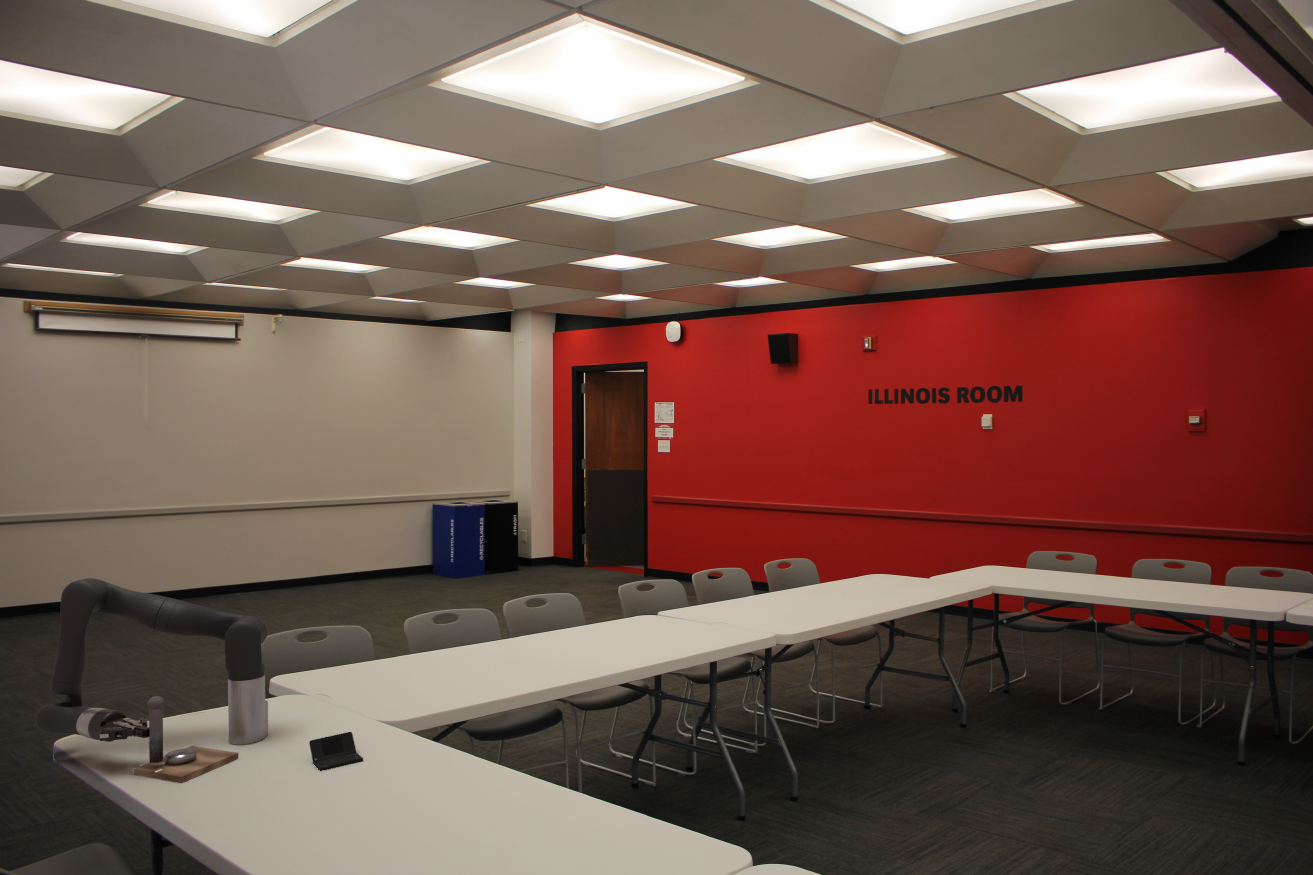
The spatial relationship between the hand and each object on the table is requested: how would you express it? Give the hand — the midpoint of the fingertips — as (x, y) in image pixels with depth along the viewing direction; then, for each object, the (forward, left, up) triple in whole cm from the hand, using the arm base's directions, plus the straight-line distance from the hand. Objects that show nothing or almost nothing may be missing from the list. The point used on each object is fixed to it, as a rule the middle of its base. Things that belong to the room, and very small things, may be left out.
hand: (148, 732), depth 215 cm
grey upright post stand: (-4, +3, -8) cm, 9 cm away
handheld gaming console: (-22, +39, -10) cm, 46 cm away
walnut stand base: (-7, +5, -10) cm, 13 cm away
